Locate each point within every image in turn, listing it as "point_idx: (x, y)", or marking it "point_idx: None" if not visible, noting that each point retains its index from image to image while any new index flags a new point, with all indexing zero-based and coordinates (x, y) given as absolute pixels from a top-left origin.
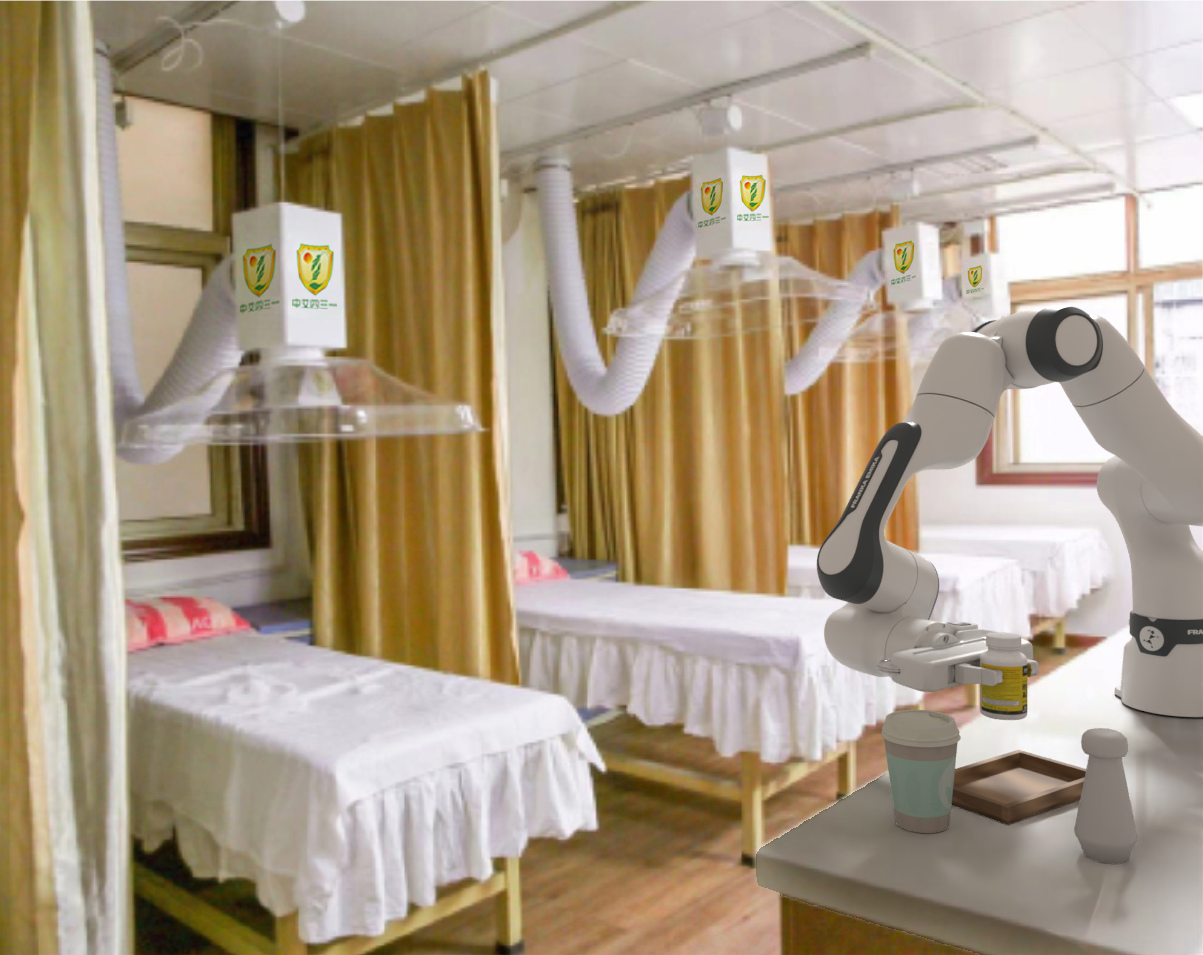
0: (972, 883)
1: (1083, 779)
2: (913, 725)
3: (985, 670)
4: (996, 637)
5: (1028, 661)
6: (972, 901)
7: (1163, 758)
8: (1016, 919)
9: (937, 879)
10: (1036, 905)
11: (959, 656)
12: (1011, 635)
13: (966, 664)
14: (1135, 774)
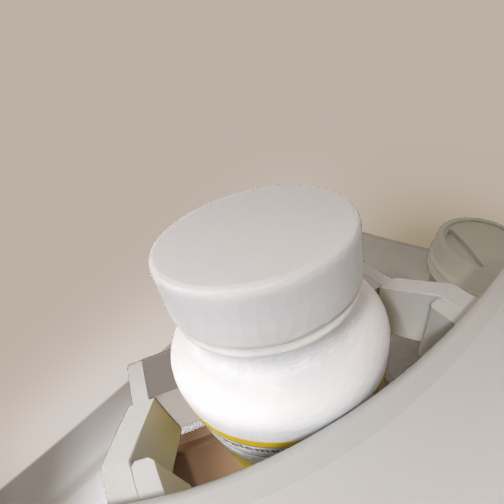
0: (404, 266)
1: (193, 435)
2: (485, 229)
3: (381, 272)
4: (318, 187)
5: (155, 368)
6: (404, 249)
7: (27, 499)
8: (380, 238)
9: (427, 268)
10: (365, 249)
11: (484, 312)
12: (209, 223)
13: (447, 307)
14: (86, 483)
